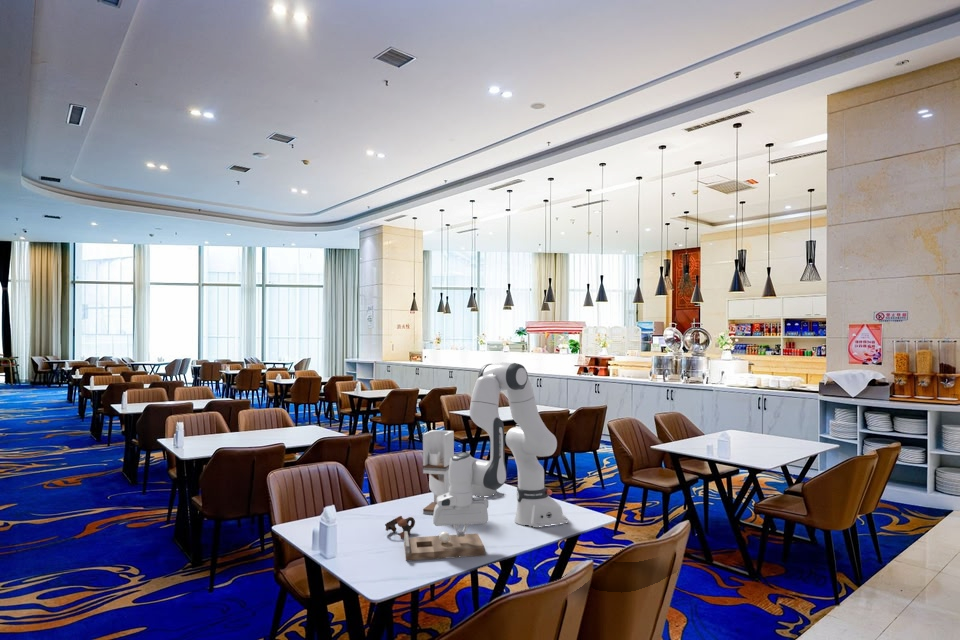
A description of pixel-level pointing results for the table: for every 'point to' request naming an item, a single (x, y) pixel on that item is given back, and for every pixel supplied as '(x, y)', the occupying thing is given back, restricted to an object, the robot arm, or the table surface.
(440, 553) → the board
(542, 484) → the robot arm
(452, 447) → the white shelf tower
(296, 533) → the table surface
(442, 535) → the ball
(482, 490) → the lumpy-topped squat cylinder
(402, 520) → the brown looped piece
